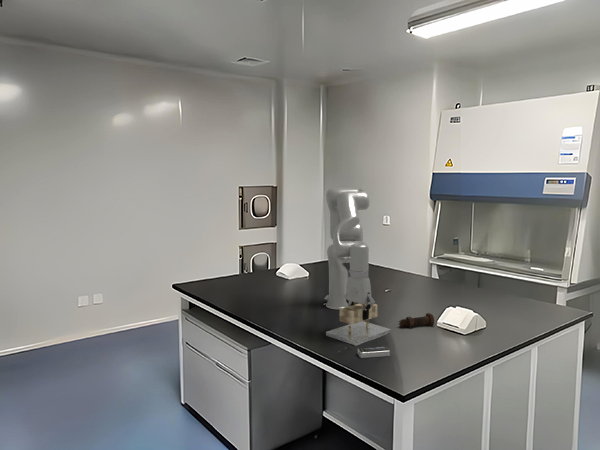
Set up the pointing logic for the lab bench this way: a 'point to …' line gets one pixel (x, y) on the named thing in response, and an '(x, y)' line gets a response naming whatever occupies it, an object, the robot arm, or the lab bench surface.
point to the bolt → (417, 321)
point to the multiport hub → (373, 352)
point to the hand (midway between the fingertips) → (358, 317)
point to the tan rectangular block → (356, 313)
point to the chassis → (358, 332)
